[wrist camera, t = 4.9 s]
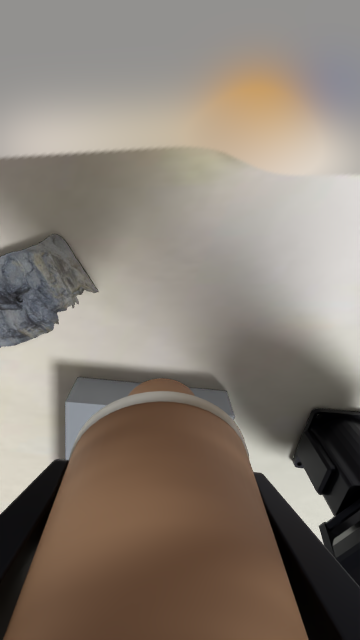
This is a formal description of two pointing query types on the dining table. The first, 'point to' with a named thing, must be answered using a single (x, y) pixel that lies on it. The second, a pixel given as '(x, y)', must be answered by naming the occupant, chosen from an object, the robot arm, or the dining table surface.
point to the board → (100, 393)
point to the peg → (157, 533)
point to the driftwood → (38, 289)
